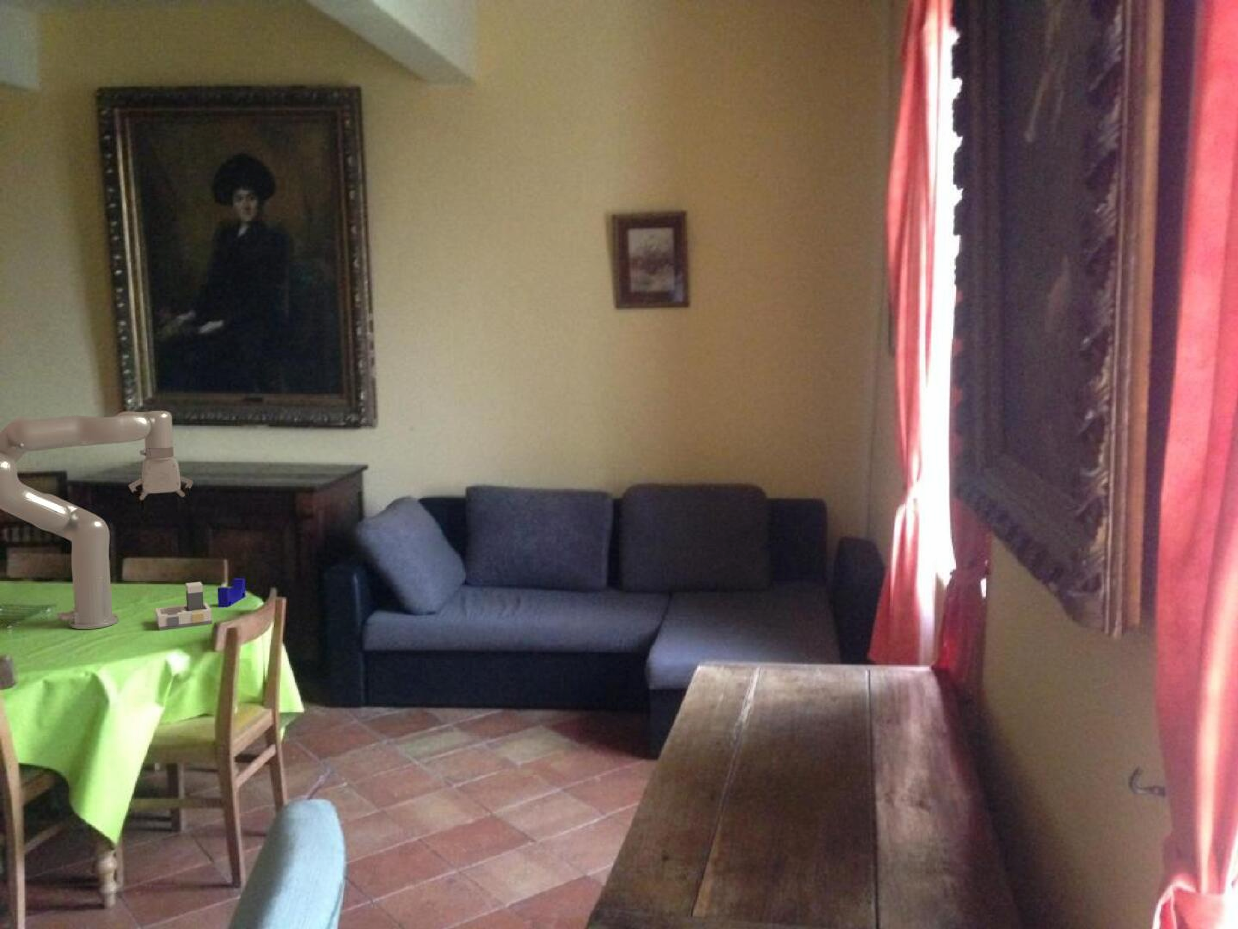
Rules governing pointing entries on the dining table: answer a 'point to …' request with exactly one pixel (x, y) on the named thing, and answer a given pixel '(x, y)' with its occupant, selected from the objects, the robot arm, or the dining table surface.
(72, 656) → the dining table surface
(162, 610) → the socket strip
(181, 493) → the robot arm
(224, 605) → the blue notched block
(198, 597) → the plug
